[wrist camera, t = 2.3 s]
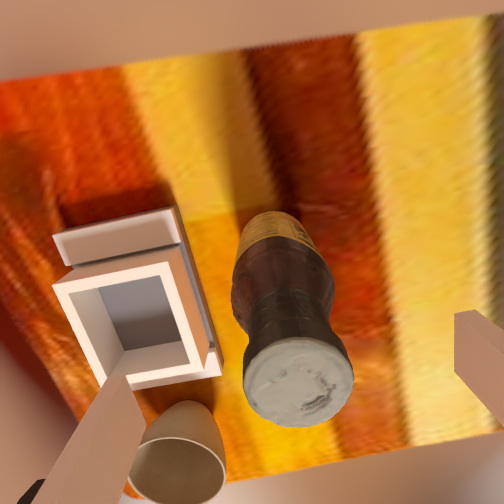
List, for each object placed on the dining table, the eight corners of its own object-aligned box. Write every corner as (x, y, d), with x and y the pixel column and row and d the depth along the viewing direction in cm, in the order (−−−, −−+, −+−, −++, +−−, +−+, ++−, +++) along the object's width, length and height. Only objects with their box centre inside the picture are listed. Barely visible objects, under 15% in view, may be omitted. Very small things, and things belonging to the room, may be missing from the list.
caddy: (177, 204, 29) (160, 218, 24) (223, 360, 35) (218, 399, 29) (66, 228, 30) (27, 247, 24) (130, 377, 35) (109, 417, 30)
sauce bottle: (307, 263, 31) (393, 454, 12) (245, 273, 31) (234, 472, 12) (300, 198, 28) (389, 306, 10) (233, 209, 29) (196, 334, 10)
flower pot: (236, 388, 36) (232, 445, 29) (225, 450, 39) (219, 514, 33) (150, 377, 35) (126, 432, 29) (146, 440, 39) (123, 503, 32)
